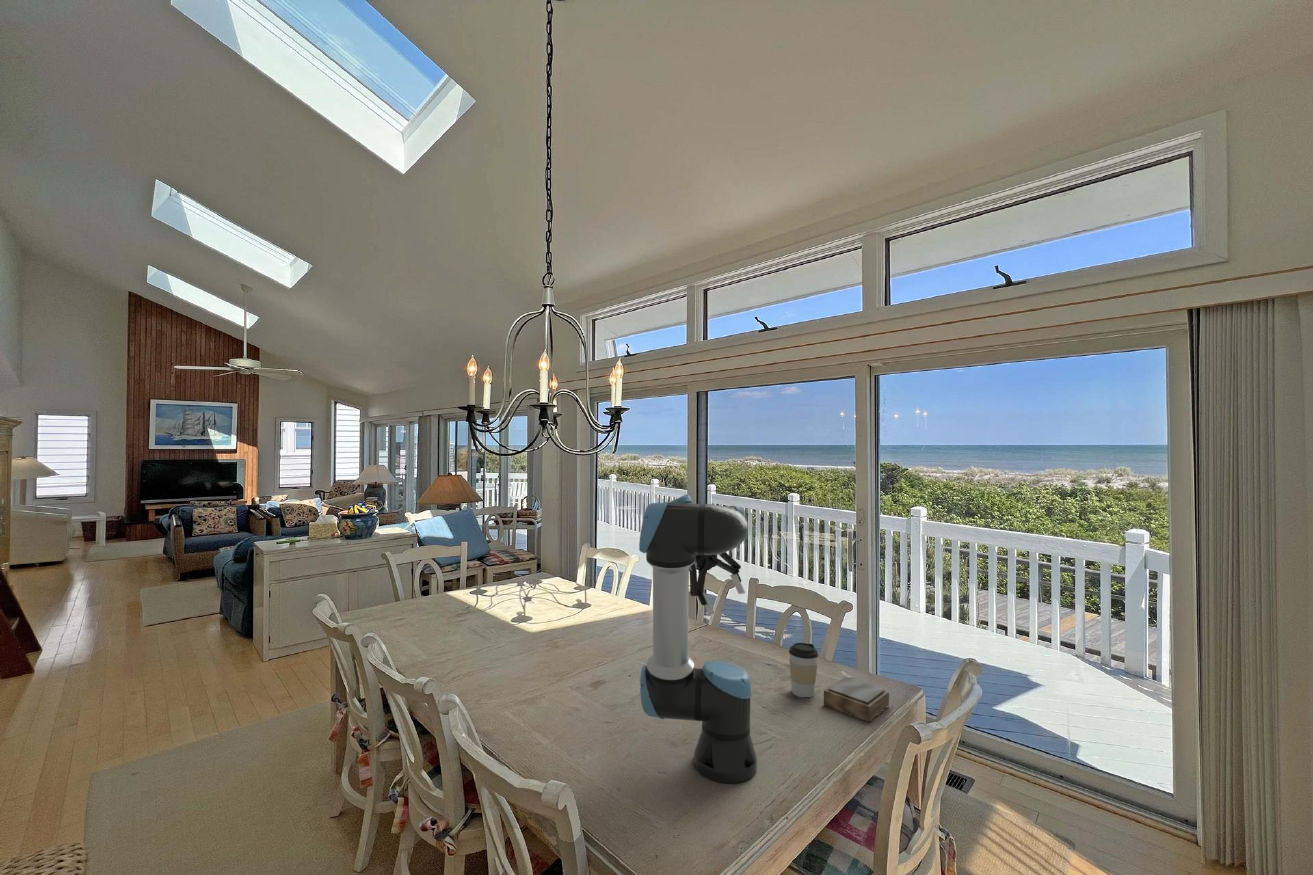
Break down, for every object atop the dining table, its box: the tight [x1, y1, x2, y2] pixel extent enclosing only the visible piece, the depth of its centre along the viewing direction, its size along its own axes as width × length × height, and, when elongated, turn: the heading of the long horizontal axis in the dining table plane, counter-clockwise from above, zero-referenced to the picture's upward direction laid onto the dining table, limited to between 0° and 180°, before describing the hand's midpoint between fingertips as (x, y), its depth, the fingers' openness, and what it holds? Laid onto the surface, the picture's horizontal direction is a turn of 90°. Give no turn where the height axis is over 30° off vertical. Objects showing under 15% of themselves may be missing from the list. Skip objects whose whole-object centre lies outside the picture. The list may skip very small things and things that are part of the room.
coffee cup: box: [788, 642, 819, 698], centre depth 170 cm, size 9×9×15 cm
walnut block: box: [823, 676, 890, 722], centre depth 162 cm, size 14×14×5 cm
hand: (727, 603), depth 169 cm, fingers open, 13 cm apart
